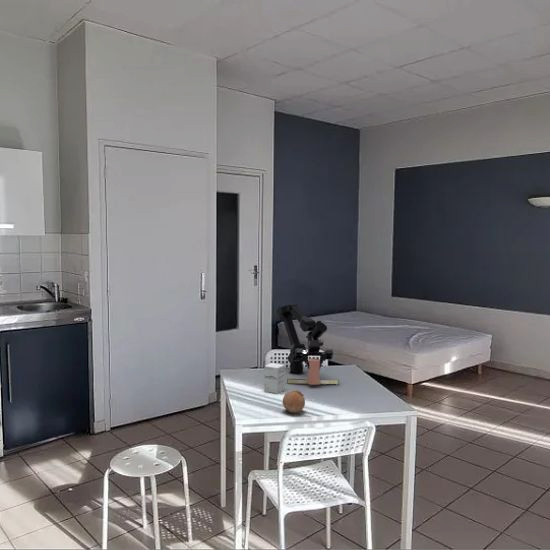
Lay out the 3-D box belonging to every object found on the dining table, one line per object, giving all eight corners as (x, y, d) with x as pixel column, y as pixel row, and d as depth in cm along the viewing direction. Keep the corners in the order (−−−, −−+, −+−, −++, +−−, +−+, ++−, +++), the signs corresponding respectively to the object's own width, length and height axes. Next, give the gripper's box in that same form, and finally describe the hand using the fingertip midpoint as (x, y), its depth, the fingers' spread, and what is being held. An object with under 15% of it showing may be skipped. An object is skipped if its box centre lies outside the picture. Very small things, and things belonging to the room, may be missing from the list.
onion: (298, 416, 221) (307, 394, 223) (300, 418, 212) (309, 395, 214) (278, 407, 221) (287, 385, 223) (279, 409, 212) (288, 386, 214)
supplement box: (263, 391, 244) (264, 365, 243) (270, 387, 251) (271, 362, 250) (277, 394, 241) (277, 367, 240) (284, 390, 247) (285, 364, 246)
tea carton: (308, 381, 256) (309, 358, 255) (318, 382, 256) (319, 358, 255) (308, 384, 252) (309, 360, 251) (318, 384, 252) (319, 360, 251)
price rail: (286, 382, 260) (287, 378, 260) (338, 383, 260) (338, 379, 260) (287, 384, 258) (287, 379, 257) (338, 385, 258) (339, 380, 257)
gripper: (295, 332, 256) (296, 360, 246) (333, 333, 256) (335, 361, 246) (294, 344, 264) (294, 371, 254) (330, 345, 264) (332, 372, 254)
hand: (314, 369), depth 252 cm, fingers closed on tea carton, 5 cm apart
